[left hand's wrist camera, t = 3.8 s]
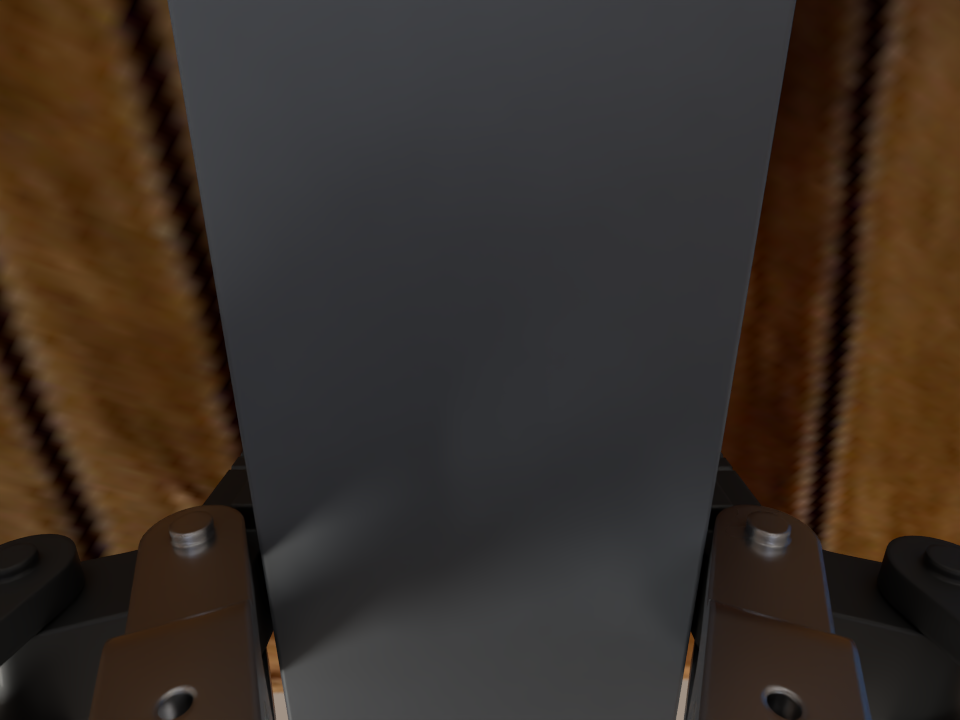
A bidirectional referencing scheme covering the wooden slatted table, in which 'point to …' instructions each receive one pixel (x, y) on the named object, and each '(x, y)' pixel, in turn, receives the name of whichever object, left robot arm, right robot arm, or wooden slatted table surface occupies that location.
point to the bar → (482, 331)
